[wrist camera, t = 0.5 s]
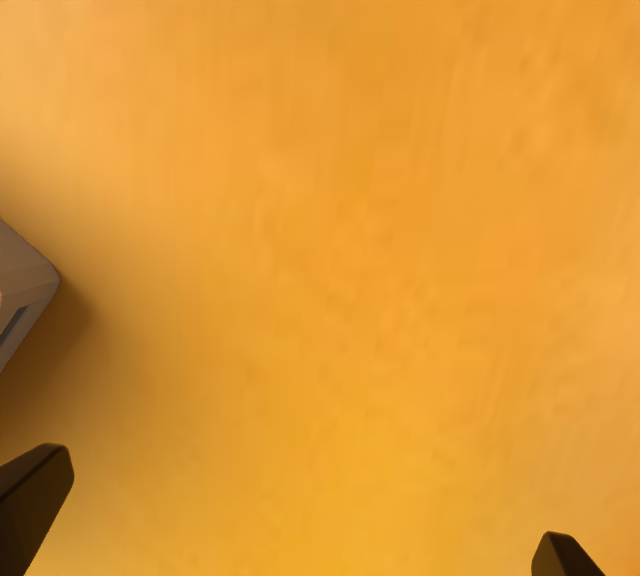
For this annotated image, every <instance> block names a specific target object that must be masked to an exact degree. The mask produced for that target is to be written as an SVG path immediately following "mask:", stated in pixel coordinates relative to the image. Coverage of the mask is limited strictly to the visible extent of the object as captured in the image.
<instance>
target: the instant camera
mask: <svg viewBox="0 0 640 576" xmlns="http://www.w3.org/2000/svg"><path fill="white" fill-rule="evenodd" d="M60 281H61V278H60V277H59V275H58V273H57V272H56V270H55V268H54V266H53V265H52V263H51V262H50V261H49V260H48V259H47V258H46V257H44V256H43V255H42V254H41V253H40V252H38V251H37V250H36V249H35V248H34V247H33V246H31V245H30V244H29V243H28V242H27V241H26V240H24V239H23V238H22V237H21V236H20V235H19V234H17V233H16V232H15V231H14V230H13V229H12V228H10V227H9V226H8V225H7V224H6V223H5V222H3V221H2V220H1V219H0V373H1V371H2V370H3V369H4V367H5V366H6V364H7V363H8V361H9V360H10V358H11V357H12V356H13V354H14V353H15V351H16V350H17V348H18V347H19V345H20V344H21V343H22V341H23V340H24V338H25V337H26V335H27V334H28V332H29V331H30V329H31V328H32V327H33V325H34V324H35V322H36V321H37V319H38V318H39V316H40V315H41V314H42V312H43V311H44V309H45V308H46V306H47V305H48V303H49V302H50V301H51V299H52V298H53V296H54V295H55V293H56V290H57V288H58V286H59V283H60Z"/></svg>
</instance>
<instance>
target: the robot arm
mask: <svg viewBox="0 0 640 576" xmlns="http://www.w3.org/2000/svg"><path fill="white" fill-rule="evenodd" d="M73 482H74V470H73V466H72V462H71V458H70V454H69V450H68V448H67V447H66V446H64V445H60V444H54V443H44V444H41V445H39V446H37V447H35V448H33V449H32V450H30V451H28V452H26V453H24V454H23V455H21V456H19V457H17V458H15V459H13V460H12V461H10V462H8V463H6V464H4V465H2V466H1V467H0V576H24V574H25V572H26V571H27V569H28V568H29V566H30V564H31V562H32V561H33V559H34V557H35V555H36V554H37V552H38V550H39V548H40V546H41V544H42V542H43V540H44V539H45V537H46V535H47V533H48V531H49V529H50V527H51V525H52V524H53V522H54V520H55V518H56V516H57V514H58V512H59V510H60V509H61V507H62V505H63V503H64V501H65V499H66V497H67V495H68V494H69V492H70V490H71V488H72V485H73ZM531 572H532V576H605V574H604V573H603V572H602V571H601V570H600V568H599V567H598V566H597V565H596V564H595V562H594V561H593V560H592V559H591V558H590V556H589V555H588V554H587V553H586V552H585V550H584V549H583V548H582V547H581V546H580V544H579V543H578V542H577V541H576V540H575V539H574V538H573V537H572V536H570V535H567V534H563V533H557V532H552V531H547V532H546V533H544V535H543V536H542V539H541V541H540V543H539V546H538V548H537V550H536V552H535V555H534V557H533V560H532V566H531Z"/></svg>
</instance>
